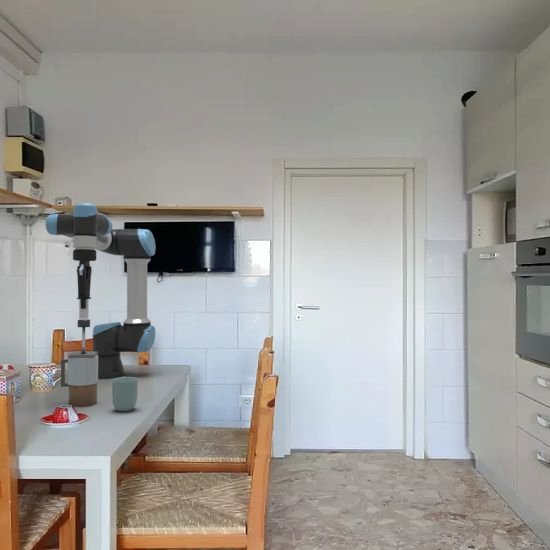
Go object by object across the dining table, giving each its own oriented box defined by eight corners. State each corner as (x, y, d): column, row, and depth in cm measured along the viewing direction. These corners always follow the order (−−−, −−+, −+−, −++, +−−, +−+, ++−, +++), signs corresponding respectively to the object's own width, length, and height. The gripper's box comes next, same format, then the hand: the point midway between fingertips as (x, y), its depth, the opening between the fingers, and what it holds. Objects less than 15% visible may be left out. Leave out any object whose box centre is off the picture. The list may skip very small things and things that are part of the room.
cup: (130, 413, 155) (130, 381, 155) (107, 412, 157) (107, 380, 157) (141, 407, 163) (142, 377, 163) (119, 406, 164) (120, 376, 165)
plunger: (74, 358, 171) (75, 319, 171) (95, 358, 172) (96, 318, 172) (70, 361, 164) (70, 320, 164) (92, 361, 165) (92, 320, 166)
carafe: (64, 401, 171) (64, 351, 171) (98, 400, 173) (99, 351, 173) (57, 407, 162) (58, 355, 163) (94, 406, 164) (95, 354, 165)
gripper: (77, 250, 175) (76, 317, 174) (68, 247, 162) (67, 319, 161) (99, 250, 176) (98, 317, 175) (92, 248, 163) (91, 319, 163)
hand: (83, 318), depth 168 cm, fingers closed
